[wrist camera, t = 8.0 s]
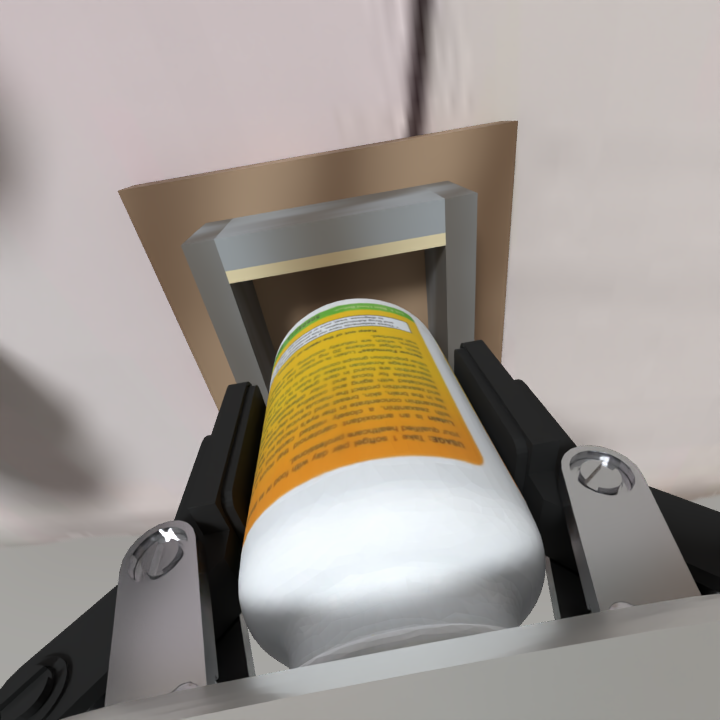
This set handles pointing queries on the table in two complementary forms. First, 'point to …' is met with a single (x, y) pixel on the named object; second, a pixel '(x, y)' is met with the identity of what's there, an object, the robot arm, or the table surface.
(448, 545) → the supplement bottle
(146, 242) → the collar board
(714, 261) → the table surface
